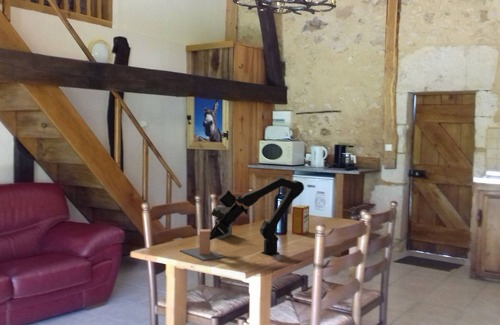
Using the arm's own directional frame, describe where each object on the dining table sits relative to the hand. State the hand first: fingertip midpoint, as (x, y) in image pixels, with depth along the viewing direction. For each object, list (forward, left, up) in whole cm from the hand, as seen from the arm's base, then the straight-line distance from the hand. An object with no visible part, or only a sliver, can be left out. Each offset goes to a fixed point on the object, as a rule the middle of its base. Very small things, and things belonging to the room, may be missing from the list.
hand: (209, 237), depth 256 cm
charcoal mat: (+2, +3, -8) cm, 9 cm away
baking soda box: (+17, -73, -8) cm, 75 cm away
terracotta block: (+1, +2, -8) cm, 8 cm away
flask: (+32, -29, -9) cm, 44 cm away
